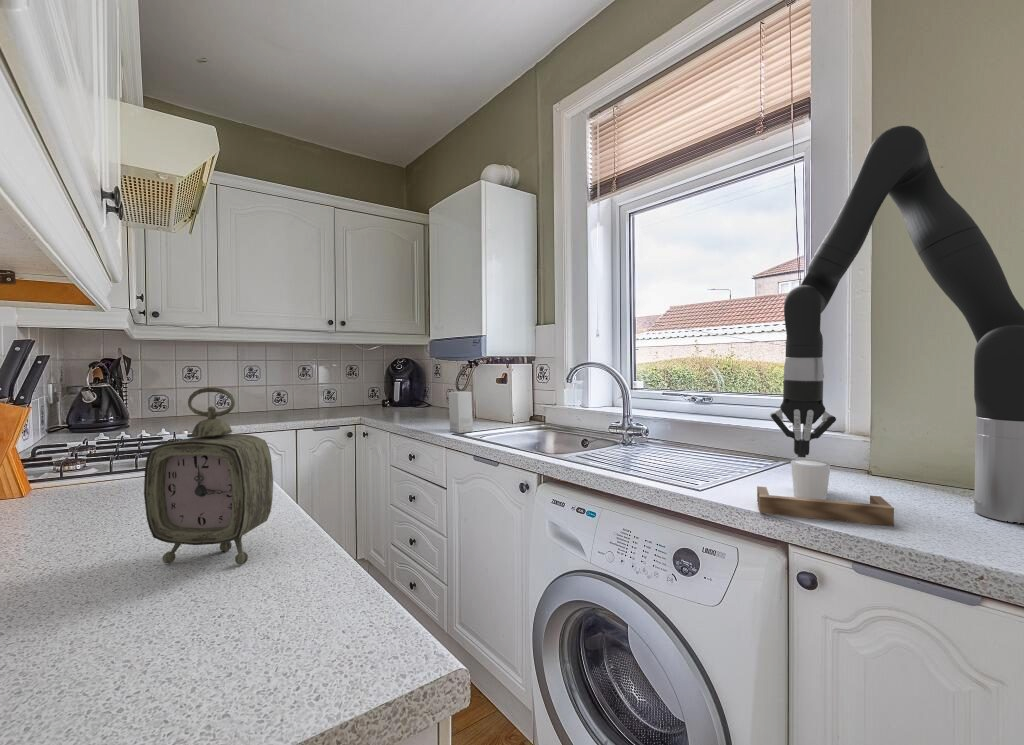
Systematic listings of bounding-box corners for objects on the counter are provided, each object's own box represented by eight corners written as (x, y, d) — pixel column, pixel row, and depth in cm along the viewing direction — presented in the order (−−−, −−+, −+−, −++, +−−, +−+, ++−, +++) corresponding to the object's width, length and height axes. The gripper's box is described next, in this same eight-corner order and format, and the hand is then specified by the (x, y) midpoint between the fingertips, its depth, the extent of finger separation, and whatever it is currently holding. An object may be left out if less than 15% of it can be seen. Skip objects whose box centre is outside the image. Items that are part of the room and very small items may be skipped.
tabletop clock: (146, 569, 69) (140, 390, 69) (191, 544, 78) (186, 386, 78) (247, 570, 69) (242, 389, 68) (281, 545, 78) (276, 385, 77)
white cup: (836, 502, 96) (836, 466, 96) (797, 501, 98) (797, 465, 97) (821, 493, 103) (822, 459, 103) (785, 491, 104) (785, 458, 104)
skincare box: (473, 432, 192) (472, 391, 191) (457, 433, 188) (457, 392, 188) (463, 429, 199) (463, 390, 198) (448, 430, 196) (447, 391, 195)
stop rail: (880, 512, 90) (880, 496, 90) (893, 526, 83) (894, 508, 83) (757, 501, 98) (757, 486, 97) (759, 512, 91) (759, 496, 90)
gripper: (835, 378, 110) (832, 455, 111) (767, 376, 115) (766, 451, 116) (842, 380, 103) (840, 463, 104) (770, 378, 108) (768, 457, 109)
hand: (801, 456), depth 110 cm, fingers closed
